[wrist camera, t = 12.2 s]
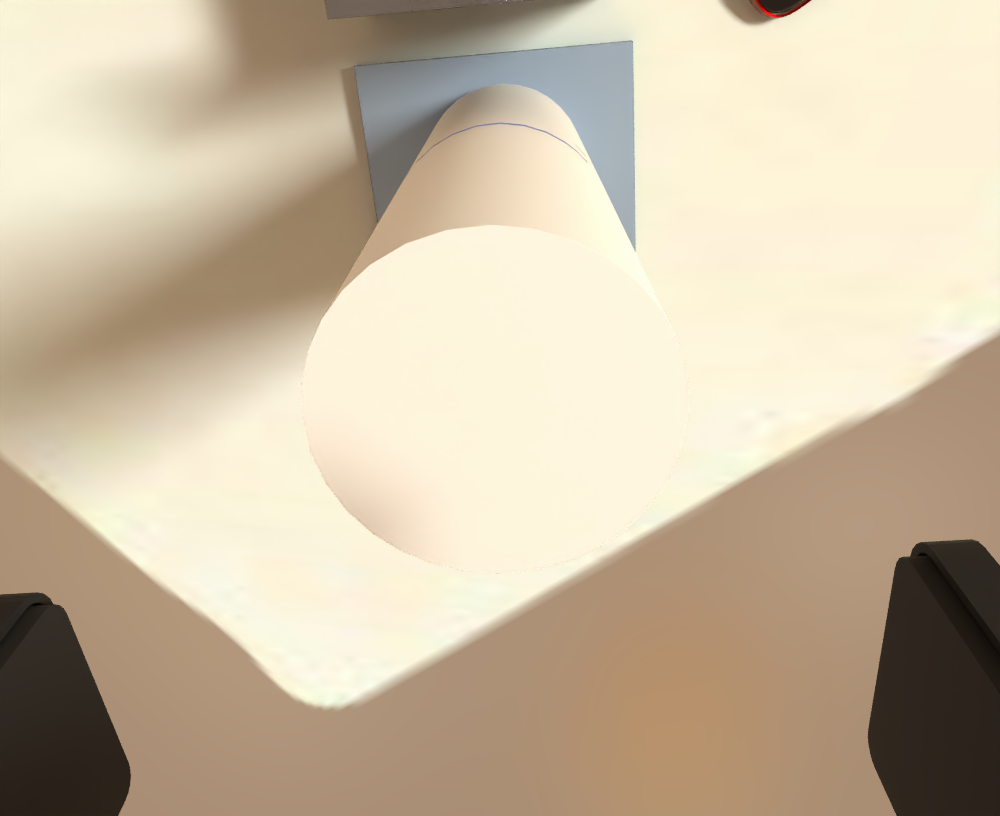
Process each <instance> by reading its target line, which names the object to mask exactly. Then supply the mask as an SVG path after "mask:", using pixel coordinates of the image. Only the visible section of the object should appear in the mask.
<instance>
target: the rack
mask: <svg viewBox="0 0 1000 816" xmlns="http://www.w3.org/2000/svg"><path fill="white" fill-rule="evenodd" d="M520 1H530V0H325V4H326V10H327V16H328V19H338V18H348V17H359V16H370V15H380V14H391V13H402V12H413V11H423V10H434V9H445V8H455V7H466V6H477V5H488V4H498V3H509V2H520Z"/></svg>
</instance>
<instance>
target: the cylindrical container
mask: <svg viewBox="0 0 1000 816" xmlns="http://www.w3.org/2000/svg"><path fill="white" fill-rule="evenodd" d="M301 385H302V420H303V424H304V428H305V432H306V436H307V440H308V444H309V448H310V451H311V454H312V456H313V458H314V460H315V462H316V464H317V466H318V468H319V470H320V472H321V474H322V476H323V478H324V480H325V482H326V484H327V486H328V487H329V488H330V490H331V491H332V492H333V493H334V495H335V496H336V497H337V498H338V500H339V501H340V502H341V504H342V505H343V506H344V507H345V509H346V510H347V511H348V512H349V513H350V514H351V515H352V516H353V517H354V518H356V519H357V520H358V521H359V522H360V523H361V524H362V525H364V526H365V527H366V528H367V529H368V530H369V531H370V532H372V533H373V534H374V535H376V536H377V537H379V538H381V539H382V540H384V541H386V542H387V543H389V544H390V545H392V546H394V547H395V548H397V549H399V550H400V551H403V552H405V553H407V554H410V555H412V556H415V557H417V558H419V559H422V560H424V561H427V562H429V563H433V564H437V565H441V566H445V567H449V568H453V569H457V570H461V571H471V572H484V573H497V574H499V573H510V572H521V571H533V570H537V569H541V568H545V567H549V566H553V565H556V564H560V563H564V562H568V561H570V560H573V559H575V558H577V557H579V556H581V555H583V554H586V553H588V552H590V551H592V550H594V549H597V548H599V547H601V546H602V545H604V544H605V543H607V542H608V541H610V540H611V539H612V538H614V537H615V536H617V535H618V534H620V533H621V532H623V531H624V530H625V529H627V528H628V527H629V526H630V525H631V524H632V523H633V522H634V521H635V520H636V519H637V518H638V517H639V516H640V515H641V514H643V513H644V512H645V511H646V510H647V509H648V508H649V507H650V506H651V504H652V503H653V501H654V500H655V499H656V497H657V496H658V494H659V493H660V491H661V490H662V489H663V487H664V486H665V484H666V483H667V481H668V480H669V478H670V476H671V473H672V471H673V469H674V467H675V464H676V462H677V460H678V458H679V455H680V453H681V451H682V448H683V443H684V438H685V433H686V429H687V424H688V419H689V381H688V376H687V372H686V368H685V364H684V360H683V356H682V352H681V349H680V345H679V342H678V340H677V338H676V336H675V334H674V332H673V329H672V327H671V325H670V323H669V321H668V319H667V317H666V315H665V313H664V311H663V309H662V307H661V305H660V303H659V300H658V298H657V296H656V294H655V292H654V290H653V288H652V286H651V284H650V282H649V280H648V278H647V276H646V273H645V271H644V269H643V267H642V265H641V263H640V261H639V259H638V257H637V255H636V253H635V251H634V249H633V247H632V244H631V242H630V240H629V238H628V236H627V234H626V232H625V230H624V228H623V226H622V224H621V222H620V220H619V218H618V215H617V213H616V211H615V209H614V207H613V205H612V203H611V201H610V199H609V197H608V195H607V193H606V191H605V188H604V186H603V184H602V182H601V180H600V178H599V176H598V174H597V172H596V170H595V168H594V166H593V164H592V162H591V160H590V158H589V156H588V154H587V152H586V150H585V148H584V145H583V143H582V141H581V139H580V137H579V135H578V133H577V131H576V129H575V128H574V126H573V124H572V122H571V120H570V118H569V117H568V116H567V115H566V113H565V112H564V111H563V110H562V109H561V107H560V106H559V105H557V104H556V103H555V102H554V101H553V100H551V99H550V98H549V97H547V96H546V95H544V94H542V93H540V92H538V91H536V90H534V89H531V88H528V87H524V86H521V85H513V84H497V85H489V86H485V87H482V88H479V89H476V90H474V91H471V92H469V93H468V94H466V95H465V96H463V97H461V98H460V99H458V100H457V101H456V102H455V103H454V104H453V105H452V106H451V107H449V108H448V109H447V110H446V111H445V113H444V114H443V116H442V117H441V118H440V120H439V121H438V123H437V124H436V126H435V128H434V129H433V131H432V133H431V134H430V136H429V138H428V140H427V141H426V143H425V145H424V146H423V148H422V150H421V151H420V153H419V155H418V157H417V158H416V160H415V162H414V163H413V165H412V167H411V168H410V170H409V172H408V174H407V175H406V177H405V179H404V180H403V182H402V184H401V185H400V187H399V189H398V190H397V192H396V194H395V196H394V197H393V199H392V201H391V202H390V204H389V206H388V207H387V209H386V211H385V213H384V214H383V216H382V218H381V219H380V221H379V223H378V224H377V226H376V228H375V230H374V231H373V233H372V235H371V236H370V238H369V240H368V241H367V243H366V245H365V247H364V248H363V250H362V252H361V253H360V255H359V257H358V258H357V260H356V262H355V263H354V265H353V267H352V269H351V270H350V272H349V274H348V275H347V277H346V279H345V280H344V282H343V284H342V286H341V287H340V289H339V291H338V292H337V294H336V296H335V297H334V299H333V301H332V303H331V304H330V306H329V308H328V309H327V311H326V313H325V314H324V316H323V318H322V320H321V322H320V324H319V327H318V329H317V331H316V333H315V336H314V338H313V340H312V342H311V345H310V347H309V349H308V354H307V359H306V364H305V369H304V373H303V378H302V383H301Z"/></svg>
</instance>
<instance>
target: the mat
mask: <svg viewBox="0 0 1000 816" xmlns="http://www.w3.org/2000/svg"><path fill="white" fill-rule="evenodd" d="M354 68H355V75H356V82H357V88H358V95H359V102H360V108H361V115H362V122H363V128H364V135H365V142H366V148H367V155H368V162H369V168H370V175H371V182H372V188H373V195H374V202H375V208H376V215H377V222H378V223H379V221H380V219H381V218H382V216H383V214H384V213H385V211H386V209H387V207H388V206H389V204H390V202H391V201H392V199H393V197H394V196H395V194H396V192H397V190H398V189H399V187H400V185H401V184H402V182H403V180H404V179H405V177H406V175H407V174H408V172H409V170H410V168H411V167H412V165H413V163H414V162H415V160H416V158H417V157H418V155H419V153H420V151H421V150H422V148H423V146H424V145H425V143H426V141H427V140H428V138H429V136H430V134H431V133H432V131H433V129H434V128H435V126H436V124H437V123H438V121H439V120H440V118H441V117H442V116H443V114H444V113H445V111H446V110H447V109H448V108H449V107H451V106H452V105H453V104H454V103H455V102H456V101H457V100H458V99H460V98H461V97H463V96H465V95H466V94H468V93H469V92H471V91H474V90H476V89H479V88H482V87H485V86H489V85H497V84H513V85H521V86H524V87H528V88H531V89H534V90H536V91H538V92H540V93H542V94H544V95H546V96H547V97H549V98H550V99H551V100H553V101H554V102H555V103H556V104H557V105H559V106H560V107H561V109H562V110H563V111H564V112H565V113H566V115H567V116H568V117H569V118H570V120H571V122H572V124H573V126H574V128H575V129H576V131H577V133H578V135H579V137H580V139H581V141H582V143H583V145H584V148H585V150H586V152H587V154H588V156H589V158H590V160H591V162H592V164H593V166H594V168H595V170H596V172H597V174H598V176H599V178H600V180H601V182H602V184H603V186H604V188H605V191H606V193H607V195H608V197H609V199H610V201H611V203H612V205H613V207H614V209H615V211H616V213H617V215H618V218H619V220H620V222H621V224H622V226H623V228H624V230H625V232H626V234H627V236H628V238H629V240H630V242H631V244H632V247H633V249H634V251H635V253H636V250H635V167H634V84H633V41H622V42H611V43H600V44H589V45H578V46H567V47H556V48H545V49H534V50H523V51H512V52H501V53H490V54H479V55H468V56H456V57H445V58H434V59H423V60H412V61H401V62H390V63H379V64H368V65H357V66H354Z"/></svg>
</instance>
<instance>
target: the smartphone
mask: <svg viewBox="0 0 1000 816" xmlns="http://www.w3.org/2000/svg"><path fill="white" fill-rule="evenodd" d="M801 1H802V0H750V2H751V4H752V5H753V6H754V8H755V9H756V10H757V11H758V12H759V13H761V14H762V15H764V16H767V17H772V18H780V17H785V16H787V15H790V14H792V13H793V12H795V11H797V10H798V9H800V8H801V7H803V6H804V5H805V4H807V3H808V2H810V1H811V0H803V1H802V2H801ZM798 3H799V4H798ZM795 5H796V6H795ZM793 6H794V7H793ZM792 7H793V8H792ZM790 8H791V9H790ZM788 9H790V10H788ZM786 10H788V11H786ZM783 11H786V12H784V13H781V14H776V15H774V14H771V13H779V12H783ZM769 12H770V13H769Z"/></svg>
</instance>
